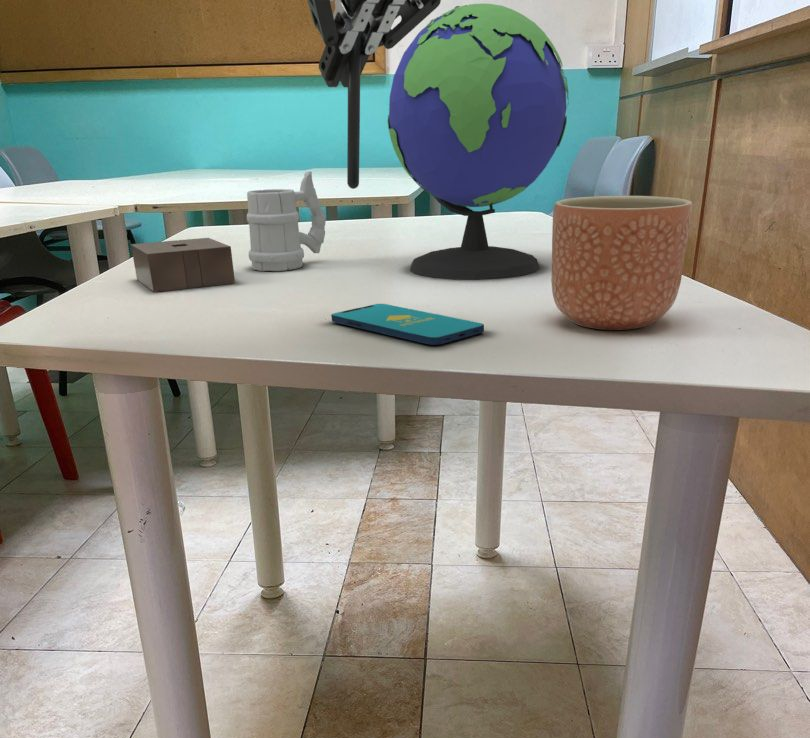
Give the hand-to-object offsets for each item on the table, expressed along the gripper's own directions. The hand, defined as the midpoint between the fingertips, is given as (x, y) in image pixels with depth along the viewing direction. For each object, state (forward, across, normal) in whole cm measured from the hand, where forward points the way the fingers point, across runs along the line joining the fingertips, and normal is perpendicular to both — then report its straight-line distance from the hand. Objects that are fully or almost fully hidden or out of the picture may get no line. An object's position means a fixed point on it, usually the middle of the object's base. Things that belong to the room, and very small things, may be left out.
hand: (335, 79), depth 73 cm
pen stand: (+39, +3, -8) cm, 40 cm away
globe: (+25, -30, +5) cm, 40 cm away
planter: (+1, -18, +29) cm, 34 cm away
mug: (+40, -13, -9) cm, 43 cm away
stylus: (+5, 0, +8) cm, 9 cm away
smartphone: (+10, -2, +20) cm, 23 cm away
